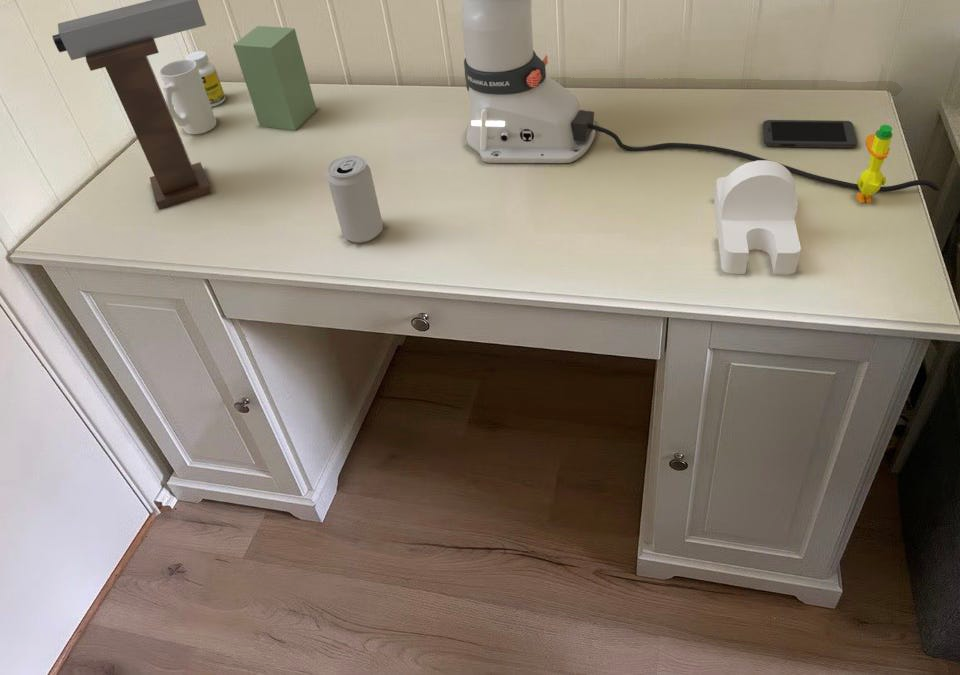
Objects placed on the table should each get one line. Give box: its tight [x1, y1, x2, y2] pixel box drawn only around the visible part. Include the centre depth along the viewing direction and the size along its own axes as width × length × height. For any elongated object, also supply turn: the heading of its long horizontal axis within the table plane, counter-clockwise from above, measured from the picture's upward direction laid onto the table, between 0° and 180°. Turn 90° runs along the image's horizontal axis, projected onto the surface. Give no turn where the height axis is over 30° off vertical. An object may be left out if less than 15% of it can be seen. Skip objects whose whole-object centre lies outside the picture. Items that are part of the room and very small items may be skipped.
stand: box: [85, 39, 212, 210], centre depth 127 cm, size 10×9×26 cm
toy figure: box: [855, 124, 893, 204], centre depth 110 cm, size 7×4×12 cm, turn 176°
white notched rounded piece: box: [713, 159, 802, 276], centre depth 107 cm, size 10×18×11 cm, turn 171°
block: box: [233, 25, 317, 131], centre depth 145 cm, size 8×8×16 cm
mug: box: [158, 58, 217, 135], centre depth 147 cm, size 10×7×12 cm, turn 165°
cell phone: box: [762, 119, 858, 149], centre depth 127 cm, size 7×14×1 cm, turn 78°
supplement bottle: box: [185, 50, 226, 108], centre depth 156 cm, size 5×5×10 cm
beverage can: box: [326, 155, 384, 244], centre depth 117 cm, size 6×6×12 cm
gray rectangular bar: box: [52, 0, 207, 61], centre depth 117 cm, size 21×4×4 cm, turn 114°
